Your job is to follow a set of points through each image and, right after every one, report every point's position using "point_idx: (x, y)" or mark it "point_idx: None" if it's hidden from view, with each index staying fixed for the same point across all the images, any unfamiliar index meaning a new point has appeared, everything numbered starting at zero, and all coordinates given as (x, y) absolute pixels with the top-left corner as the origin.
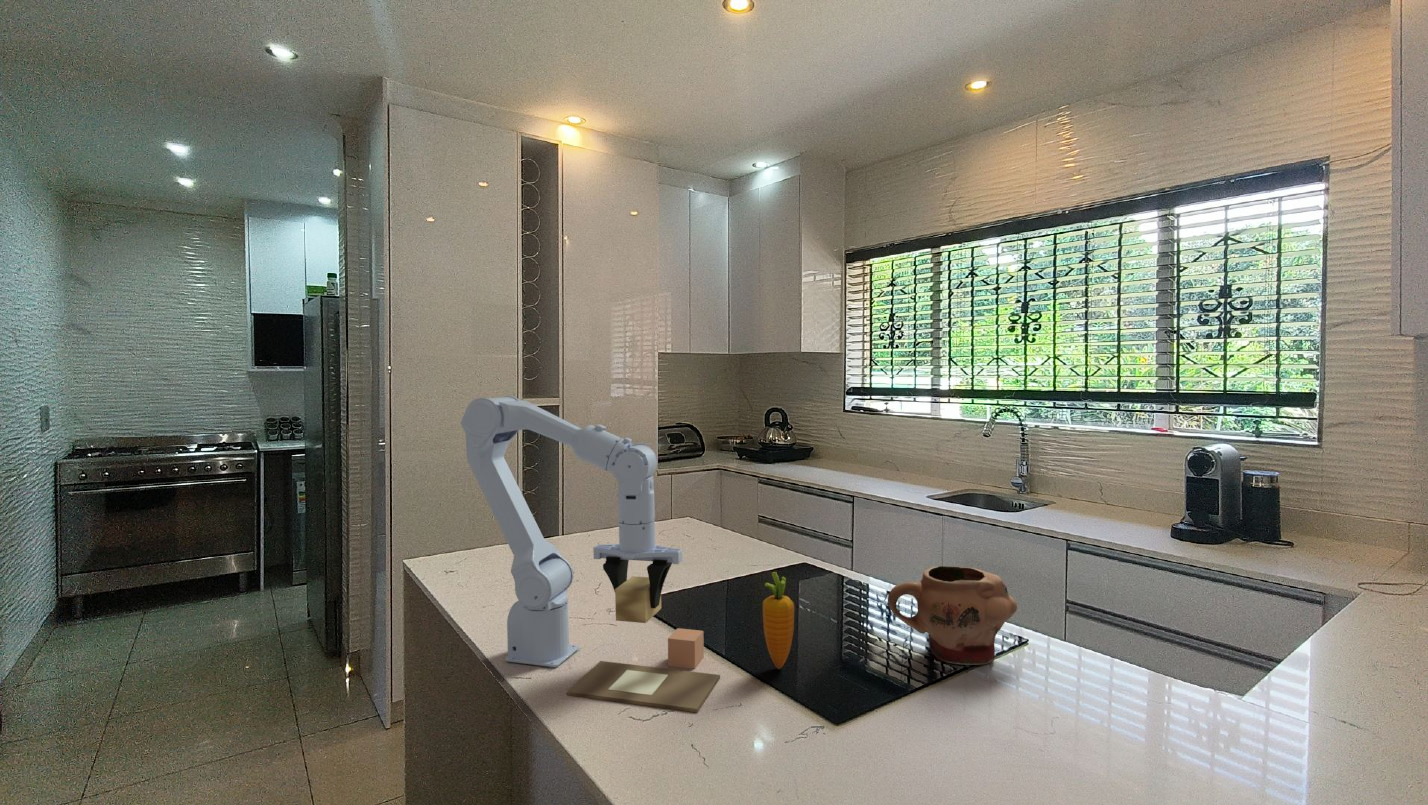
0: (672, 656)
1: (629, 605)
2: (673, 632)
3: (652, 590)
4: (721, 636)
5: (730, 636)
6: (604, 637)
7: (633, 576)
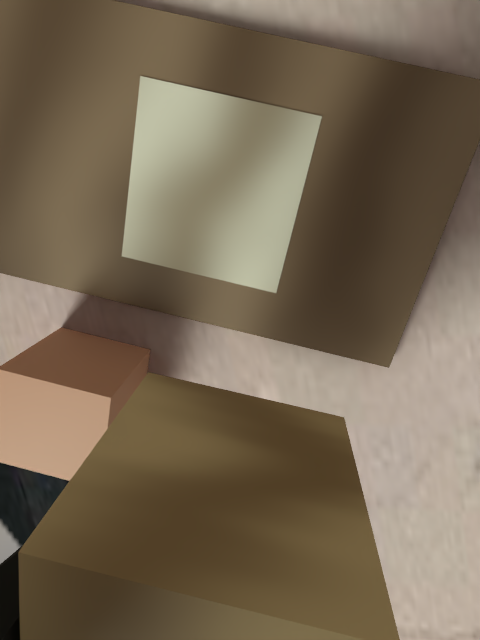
0: (122, 360)
1: (238, 467)
2: None
3: (3, 600)
4: None
5: (22, 528)
6: (398, 548)
7: None
